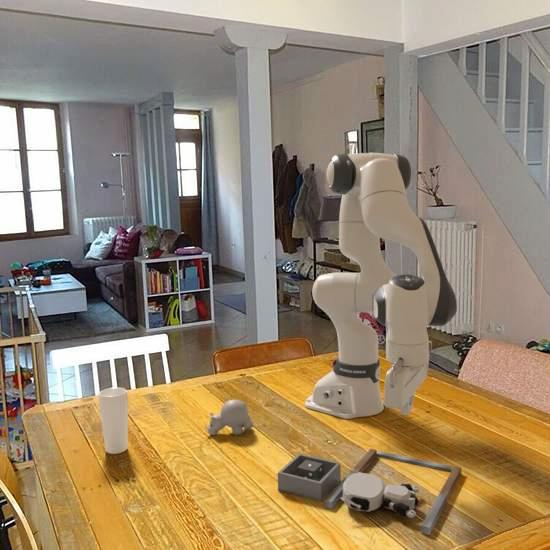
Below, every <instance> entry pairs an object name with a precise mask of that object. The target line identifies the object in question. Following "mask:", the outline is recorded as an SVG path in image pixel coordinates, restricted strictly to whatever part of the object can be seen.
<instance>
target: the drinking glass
mask: <svg viewBox="0 0 550 550" xmlns="http://www.w3.org/2000/svg"><path fill="white" fill-rule="evenodd" d="M128 401H129V399H128V391H127V389H126V388H123V387H109V388H104V389H103V390H100V391H99V392H98V407H99V408H98V409H99V410H98V411H99V416H100V422H101V423H100V424H101V427H102V433H103V434H102V435H103V439H104V449H105V452H106V453H108V454H109V455H118V454H122V453H123V452H125V451H127V450H128V448H129V447H128V446H129V445H128V422H129V421H128V418H129V402H128Z"/></svg>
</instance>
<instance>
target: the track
mask: <svg viewBox="0 0 550 550" xmlns="http://www.w3.org/2000/svg"><path fill="white" fill-rule="evenodd" d="M376 457H379V458H385V459H389V460H394V461H399V462H404V463H409V464H413V465H418V466H422V467H426V468H427V467H428V468H431V469H432V468H433V469H436V470H441V471H446V472H450V473H449V475H448V477H447V478H446V480H445V482H444V484H443V486H442V488H441V489H440V491H439V493H438V495H437V497H436V498H435V501H434V502H433V504H432V506H431V507H430V509H429V511H428V513H427V515H426V516H425V518H424V520H423V522H422V524H421V529H420V530H421V531H420V532H421V534H422V535H423V534H424V535H427V536H431V533H432V531H433V530H434V527H435V526H436V523H437V522H438V520H439V518H440V516H441V514H442V512H443V511H444V510H443V509H444V508H445V506H446V504H447V502H448V500H449V499H450V496H451V495H452V492H453V490H454V488H455V487H456V485H457V483H458V481H459V479H460V477H461V475H462V467H460V466H455V465H454V466H453V465H447V464H444V463H439V462H433V461H429V460H423V459H420V458H414V457H409V456H405V455H399V454H395V453H390V452H385V451H382V450H381V451H380V450H377V449H374V448H370V449H369V450H368V451H367V452H366V453H365V455H364V456H363V457H362V458H361V459H360V460H359V461H358V462H357V463H356V465H354V467H353V468H352V469H354V470H355V471H357V472H361V473H364V472H365V470H366V469H367V468H368V467H369V466H370V464H372V462H373V461H374V460H375V459H376ZM354 473H356V472H352V471H351V470H350V471H349V472H348V474H347V475H345V477H344V478H343V479H342V480H340V481H339V483H338V484H337V485H336V486H335V487H334V488H333V489H332V490H331V492H330V493H329V494H328V495H327V496H326V497H325V498H324V508H326V509H329V510H333V508H334V507H335V506H336V504H337V503H338V502H339V501H340V500H341V499H340V498H343V483H344V482H345V480H346V479H347V478H348V477H349V476H350V475H352V474H354Z"/></svg>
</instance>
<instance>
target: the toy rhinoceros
mask: <svg viewBox="0 0 550 550" xmlns="http://www.w3.org/2000/svg"><path fill="white" fill-rule="evenodd" d="M209 414H210V416H211V417H210V420H209V425H208V424H207V425H208V426H207V425H206V424H204V429H205V430H206V431H207V432H208V434H209V435H210V436H217V435H218V433H220V431H221V430H224V428H225V427H228V428H231V430H232V434H233V435H234V436H236V437H237V436H240V435H241V434H243V433H244V430H245V431H248V430H251V429H252V428H253V427H254V422H253V421H252V420H251V417H250V415H249V409H248V407H247V404H246V403H245V402H243V401H242V400H239V399H236V398H235V399H230V400H227V401H226V402H225V403H224V404H222V407H221V409H220V412H219V413H217V414H214V413H212V412H209ZM243 428H244V429H243Z"/></svg>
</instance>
